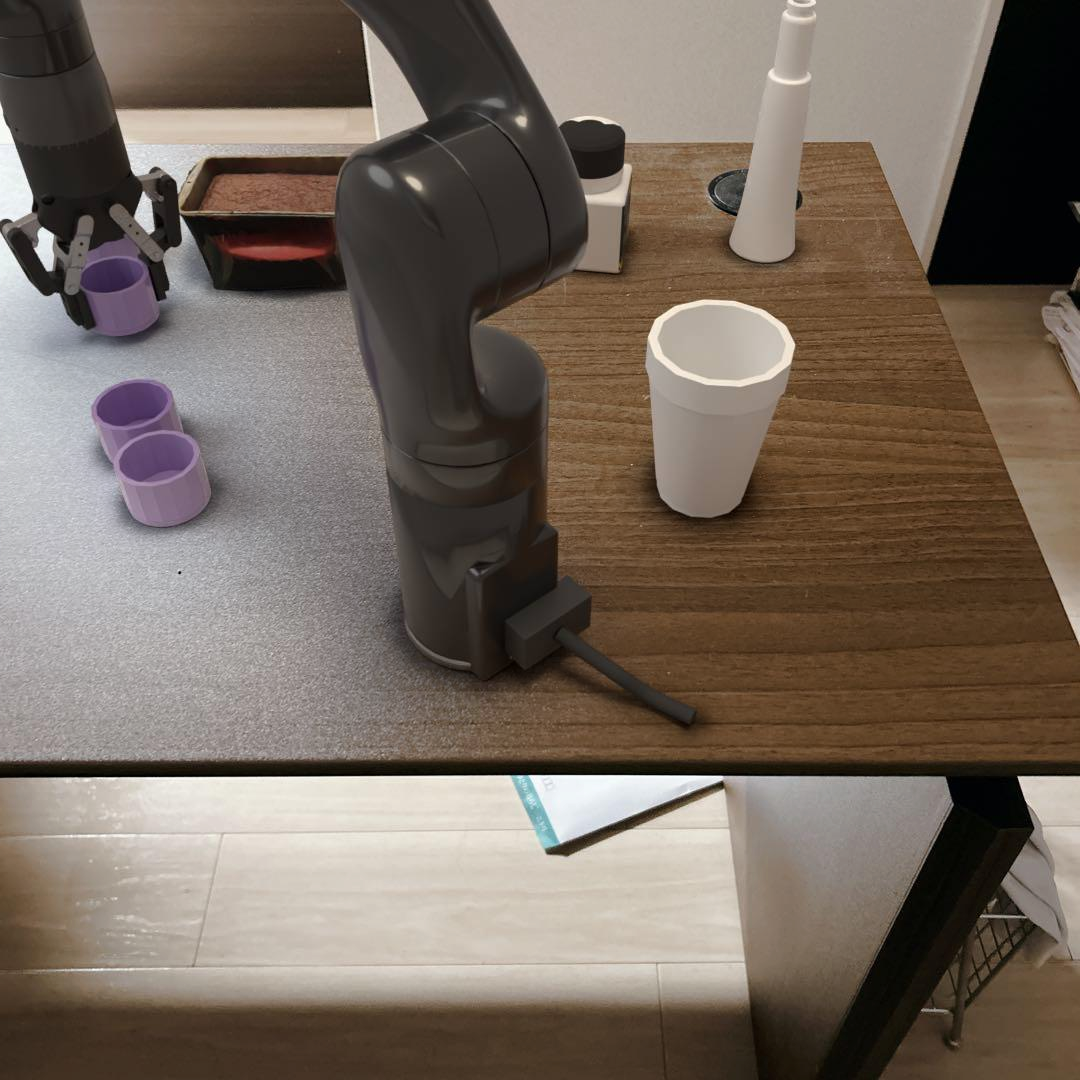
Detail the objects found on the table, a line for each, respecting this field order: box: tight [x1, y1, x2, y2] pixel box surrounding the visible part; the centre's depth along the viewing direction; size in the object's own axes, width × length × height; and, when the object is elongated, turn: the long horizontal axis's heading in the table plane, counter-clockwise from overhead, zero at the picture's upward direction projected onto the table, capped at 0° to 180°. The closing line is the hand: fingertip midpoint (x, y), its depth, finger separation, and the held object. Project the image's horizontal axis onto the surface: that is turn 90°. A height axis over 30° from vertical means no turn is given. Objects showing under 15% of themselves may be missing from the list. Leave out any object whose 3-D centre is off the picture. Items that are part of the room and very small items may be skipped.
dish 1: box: [80, 256, 161, 337], centre depth 94 cm, size 6×6×4 cm
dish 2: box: [90, 378, 185, 465], centre depth 84 cm, size 6×6×4 cm
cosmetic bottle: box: [728, 0, 818, 264], centre depth 97 cm, size 6×6×22 cm
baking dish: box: [178, 153, 352, 291], centre depth 101 cm, size 14×18×10 cm
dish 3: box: [112, 430, 212, 528], centre depth 80 cm, size 6×6×4 cm
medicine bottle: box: [558, 115, 633, 274], centre depth 100 cm, size 7×7×12 cm
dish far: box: [86, 216, 140, 265], centre depth 102 cm, size 6×6×4 cm
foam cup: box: [644, 299, 796, 519], centre depth 78 cm, size 10×9×13 cm
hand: (122, 309), depth 95 cm, fingers closed on dish 1, 6 cm apart
